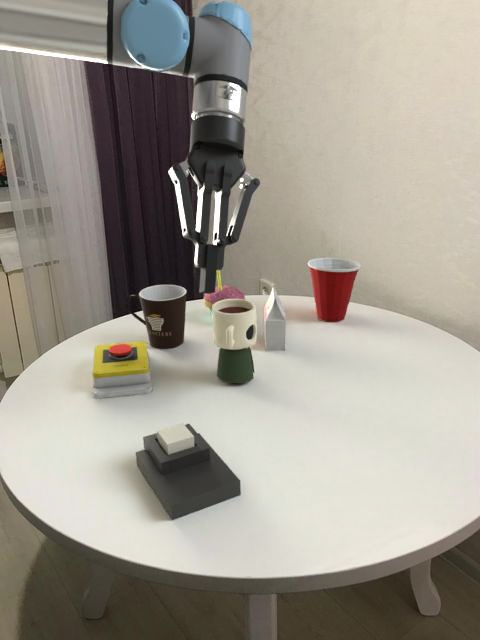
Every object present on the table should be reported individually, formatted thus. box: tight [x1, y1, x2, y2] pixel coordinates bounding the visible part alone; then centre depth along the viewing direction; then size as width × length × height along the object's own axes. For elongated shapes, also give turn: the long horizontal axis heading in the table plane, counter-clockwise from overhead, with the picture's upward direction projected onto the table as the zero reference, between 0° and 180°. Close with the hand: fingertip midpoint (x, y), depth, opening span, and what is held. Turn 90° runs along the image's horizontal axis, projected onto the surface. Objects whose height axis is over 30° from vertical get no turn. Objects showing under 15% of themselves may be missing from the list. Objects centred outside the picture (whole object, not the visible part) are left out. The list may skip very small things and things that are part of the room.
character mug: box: [211, 299, 258, 384], centre depth 96 cm, size 11×7×13 cm, turn 174°
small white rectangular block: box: [156, 422, 194, 455], centre depth 75 cm, size 4×4×2 cm
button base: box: [135, 423, 242, 521], centre depth 74 cm, size 12×9×4 cm
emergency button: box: [92, 340, 153, 399], centre depth 99 cm, size 9×4×15 cm
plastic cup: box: [306, 257, 362, 323], centre depth 121 cm, size 11×11×12 cm
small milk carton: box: [263, 287, 287, 351], centre depth 110 cm, size 4×7×10 cm, turn 2°
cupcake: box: [203, 270, 246, 315], centre depth 120 cm, size 9×8×12 cm
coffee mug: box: [124, 284, 188, 350], centre depth 111 cm, size 12×9×10 cm
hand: (207, 292), depth 82 cm, fingers closed
